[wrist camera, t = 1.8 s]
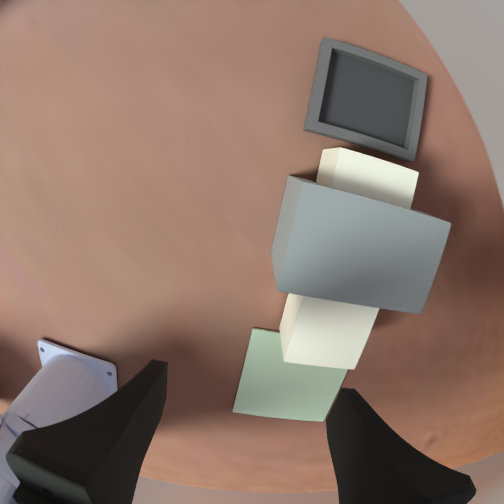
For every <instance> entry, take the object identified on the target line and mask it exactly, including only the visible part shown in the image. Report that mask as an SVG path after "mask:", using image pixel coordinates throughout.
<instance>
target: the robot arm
mask: <svg viewBox="0 0 504 504" xmlns="http://www.w3.org/2000/svg"><path fill="white" fill-rule="evenodd" d="M38 349H39V354H40V359H41V364H42V368H41V369H40V370H39V371H38V373H37V374H36V375H35V376H34V377H33V378H32V380H31V381H30V382H29V383H28V384H27V385H26V387H25V388H24V389H23V390H22V391H21V393H20V394H19V395H18V396H17V398H16V399H15V400H14V401H13V402H12V404H11V405H10V406H9V407H8V409H7V410H6V411H5V412H4V414H3V415H1V414H0V504H132V500H133V496H134V492H135V488H136V484H137V480H138V476H139V473H140V469H141V466H142V463H143V460H144V457H145V455H146V452H147V450H148V447H149V445H150V443H151V440H152V438H153V435H154V433H155V431H156V428H157V426H158V423H159V421H160V418H161V415H162V411H163V408H164V404H165V400H166V389H167V367H168V363H167V362H163V361H158V360H154V359H153V360H151V361H150V362H149V363H148V364H147V365H146V366H145V367H144V368H143V369H142V370H141V371H140V372H139V373H138V374H136V375H135V376H134V377H133V378H132V379H131V380H130V381H128V382H127V383H126V384H125V385H124V386H122V387H121V388H120V389H119V390H118V388H117V373H116V367H115V365H114V364H112V363H110V362H107V361H104V360H101V359H97V358H94V357H91V356H88V355H85V354H82V353H79V352H76V351H74V350H71V349H68V348H65V347H62V346H60V345H57V344H54V343H52V342H49V341H47V340H44V339H39V340H38ZM110 372H111V373H112V374H111V373H110ZM326 426H327V438H328V444H329V449H330V453H331V457H332V462H333V466H334V471H335V475H336V479H337V485H338V493H339V504H467V503H468V502H469V501H470V500H471V499H472V498H473V496H474V495H475V493H476V488H475V486H474V484H473V482H472V480H471V478H470V476H469V475H466V474H463V473H460V472H458V471H455V470H452V469H450V468H448V467H446V466H444V465H441V464H439V463H438V462H436V461H434V460H432V459H430V458H429V457H427V456H426V455H424V454H422V453H421V452H419V451H418V450H416V449H415V448H414V447H412V446H411V445H410V444H409V443H407V442H406V441H405V440H403V439H402V438H401V437H400V436H399V435H398V434H397V433H396V432H395V431H393V430H392V429H391V428H390V427H389V426H388V425H387V424H386V423H385V422H384V421H383V420H382V419H381V417H380V416H379V415H378V414H377V413H376V412H375V411H374V410H373V409H372V408H371V406H370V405H369V404H368V403H367V402H366V401H365V400H364V399H363V397H362V396H361V395H360V394H359V393H358V392H357V391H356V390H355V389H350V388H341V390H340V392H339V394H338V397H337V399H336V401H335V403H334V405H333V407H332V409H331V411H330V413H329V415H328V417H327V419H326Z"/></svg>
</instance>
